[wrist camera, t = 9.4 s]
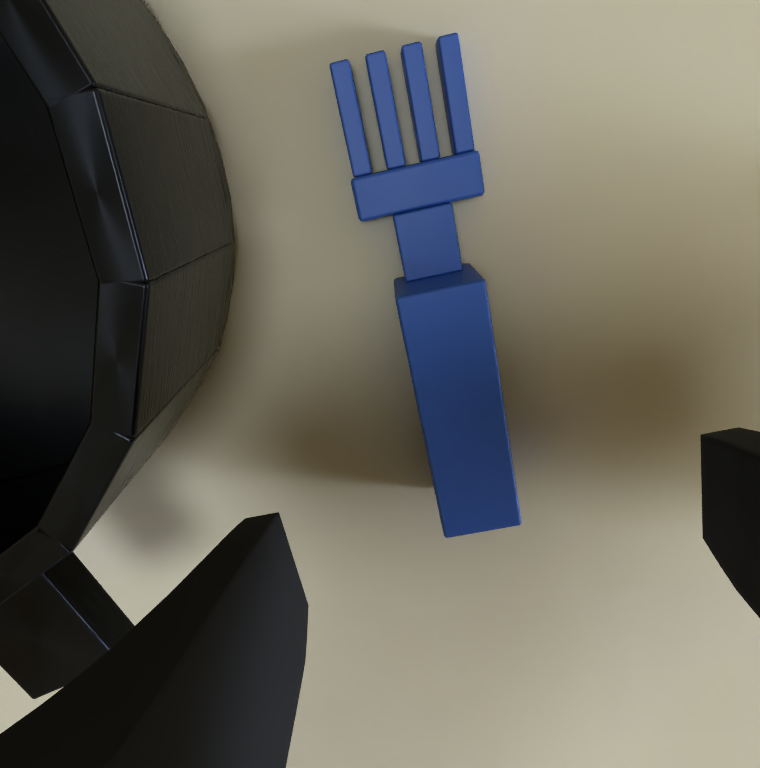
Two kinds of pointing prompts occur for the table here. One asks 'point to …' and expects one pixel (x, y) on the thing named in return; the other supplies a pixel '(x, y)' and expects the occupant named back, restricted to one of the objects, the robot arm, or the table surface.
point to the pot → (94, 300)
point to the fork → (438, 285)
